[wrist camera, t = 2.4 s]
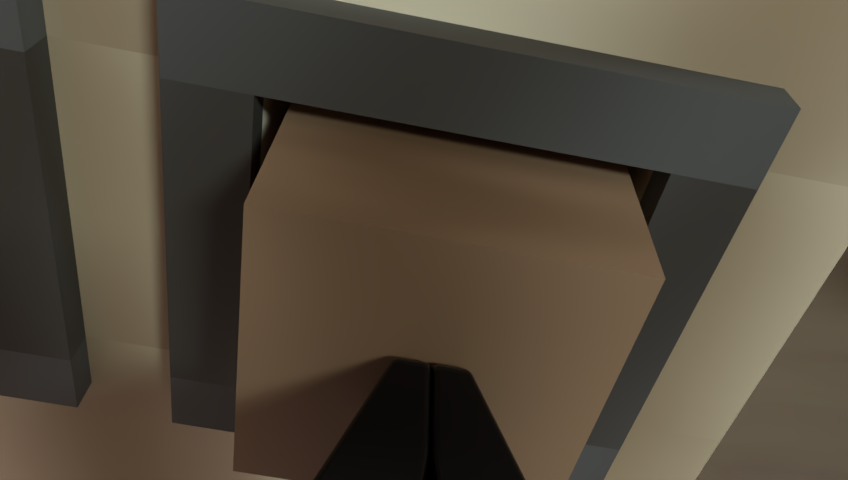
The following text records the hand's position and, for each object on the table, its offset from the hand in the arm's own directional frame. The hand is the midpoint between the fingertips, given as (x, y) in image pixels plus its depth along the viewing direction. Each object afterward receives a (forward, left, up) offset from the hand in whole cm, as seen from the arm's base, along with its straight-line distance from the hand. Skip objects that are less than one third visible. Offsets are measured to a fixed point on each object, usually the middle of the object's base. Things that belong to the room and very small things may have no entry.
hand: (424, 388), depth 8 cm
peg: (0, 0, -6) cm, 6 cm away
